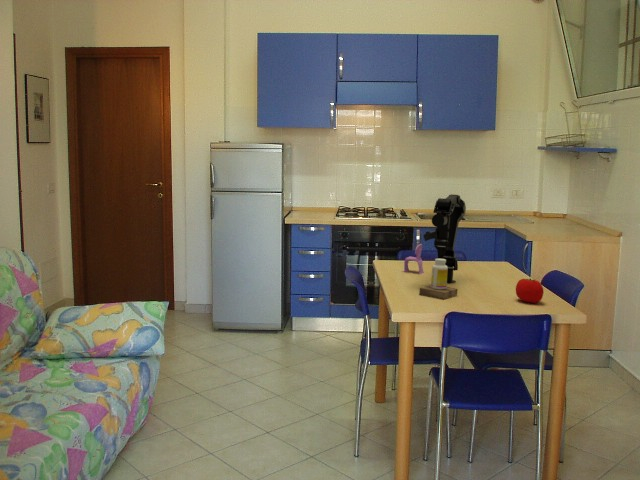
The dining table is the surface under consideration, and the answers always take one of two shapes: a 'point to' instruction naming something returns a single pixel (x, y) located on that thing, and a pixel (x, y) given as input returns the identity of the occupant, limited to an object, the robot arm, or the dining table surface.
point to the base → (438, 292)
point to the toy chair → (417, 259)
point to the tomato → (529, 290)
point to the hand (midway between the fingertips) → (439, 260)
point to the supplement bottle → (439, 274)
